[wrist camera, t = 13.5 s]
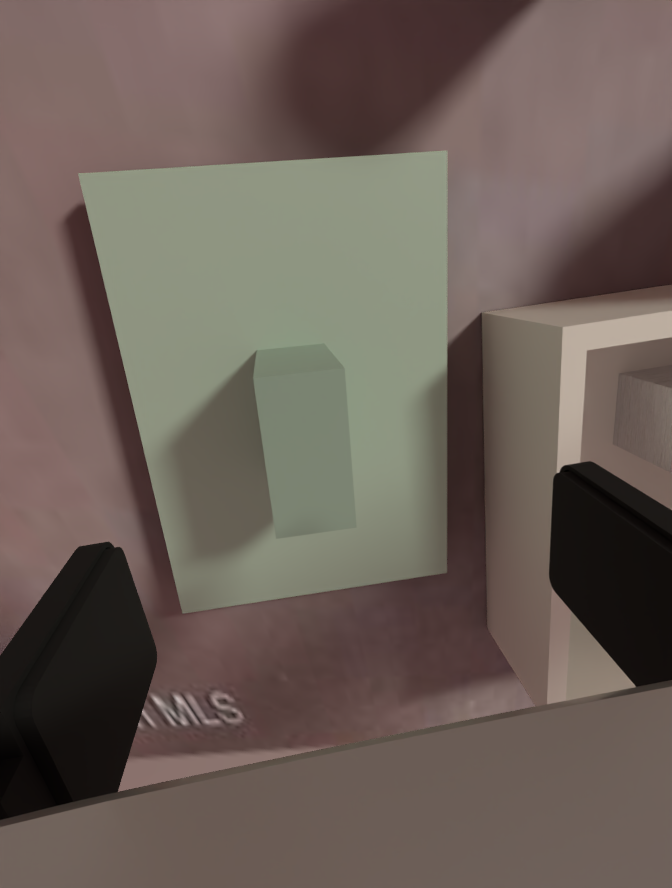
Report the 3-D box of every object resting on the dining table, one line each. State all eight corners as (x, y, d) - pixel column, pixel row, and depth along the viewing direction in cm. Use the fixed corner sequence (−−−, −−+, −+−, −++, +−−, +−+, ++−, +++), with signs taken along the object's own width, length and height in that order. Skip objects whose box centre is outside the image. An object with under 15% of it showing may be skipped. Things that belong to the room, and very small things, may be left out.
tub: (735, 275, 25) (901, 275, 18) (685, 587, 32) (792, 667, 26) (481, 312, 24) (562, 327, 17) (487, 628, 31) (546, 723, 24)
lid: (428, 164, 22) (520, 99, 14) (432, 548, 29) (495, 653, 21) (99, 185, 20) (-9, 127, 12) (189, 584, 27) (157, 712, 19)
